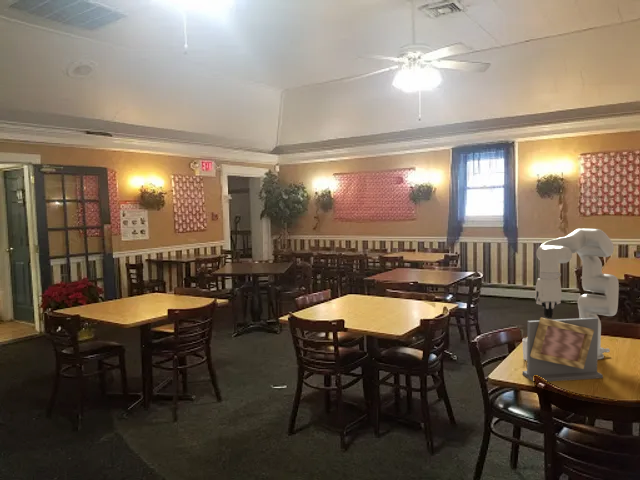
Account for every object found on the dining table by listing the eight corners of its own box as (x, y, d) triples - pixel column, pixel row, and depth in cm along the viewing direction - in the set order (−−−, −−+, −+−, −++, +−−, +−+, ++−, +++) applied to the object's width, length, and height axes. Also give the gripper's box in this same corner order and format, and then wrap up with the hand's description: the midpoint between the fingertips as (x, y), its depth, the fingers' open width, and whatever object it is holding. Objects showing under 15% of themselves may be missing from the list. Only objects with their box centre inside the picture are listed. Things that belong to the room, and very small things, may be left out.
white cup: (541, 362, 242) (541, 342, 241) (523, 361, 244) (524, 341, 243) (537, 357, 250) (537, 337, 249) (520, 356, 251) (520, 337, 250)
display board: (588, 370, 229) (589, 315, 227) (602, 378, 219) (603, 320, 217) (522, 374, 227) (523, 318, 224) (533, 382, 217) (534, 324, 215)
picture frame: (579, 366, 222) (589, 328, 221) (583, 369, 219) (594, 330, 218) (530, 356, 219) (540, 317, 218) (533, 358, 216) (544, 318, 215)
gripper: (560, 274, 220) (559, 314, 221) (528, 275, 219) (527, 315, 220) (570, 276, 212) (569, 318, 214) (536, 277, 211) (536, 319, 212)
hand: (548, 317), depth 217 cm, fingers closed
